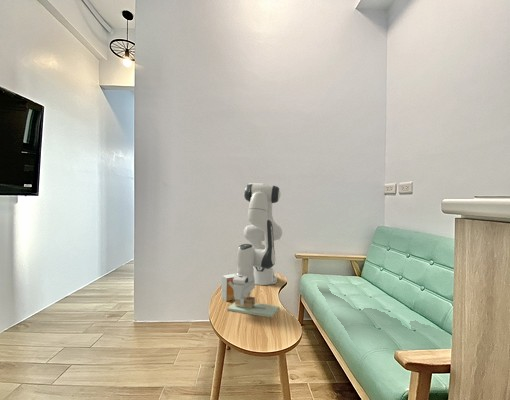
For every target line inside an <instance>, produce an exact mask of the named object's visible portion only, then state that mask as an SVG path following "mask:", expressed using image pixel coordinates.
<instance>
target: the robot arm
mask: <svg viewBox="0 0 510 400" xmlns="http://www.w3.org/2000/svg"><path fill="white" fill-rule="evenodd" d="M243 196H244V200H246V201H247V202H249V203H248V210H247V220H248V222H249V223H250V224H249V225H248V224H247V225H246V226H245V227H244V228H243V236H244V238H245V240H247V241H248V242H249V243H242V244H240V245H239V246H238V248H237V251H236V253H237V254H236V265H237V267H236V273H235V275H236V276H235V277H234V279H233V283H234V298H235V299H238V300H240V304H241V305H244V304H245V301H244V297H245V296H249V297H251V292H252V291H253V290H254V289H255V287H256V285H258V286H268V285H269V286H270V285H275V284H277V281H278V279H279V277H278V275H275V269H274V268H273V266H275V265H276V253H275V241H280V240H281V238H282V236H283V230H282V228H281V226H280V225H279V224H277V223H276V222H275V221H274V218H273V204H276V203H278V202H279V200H280V198H281V190H280V187H278V186H276V185H270V184H253V183H251V184H247V185H246V186H245V187H244V190H243ZM263 241H264V242H265V244H263Z"/></svg>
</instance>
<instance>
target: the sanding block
mask: <svg viewBox="0 0 510 400" xmlns="http://www.w3.org/2000/svg"><path fill="white" fill-rule="evenodd" d="M244 301H245V304H244V305H241V304H240V300H238V299H235V300H234V302H235V306H239V307H246V308H252V307H253V306H254V305H255V303H256V297H255V296H250V297H249V296H245V297H244Z"/></svg>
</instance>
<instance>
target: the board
mask: <svg viewBox="0 0 510 400" xmlns="http://www.w3.org/2000/svg"><path fill="white" fill-rule="evenodd" d="M278 309H280V306H279V305H272V304H265V303H258V302H255V305H254V306H253V307H252V308H246V307H239V306H235V301H234V302H233V303H232V304H231V305H230V306H227V311H229V312H236V313H242V314H245V315H246V314H248V315H252V314H253V316H254V315H255V316H260V317H265V318H274V316H276V314H275V313H277V312H278V311H279V310H278Z"/></svg>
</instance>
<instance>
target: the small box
mask: <svg viewBox="0 0 510 400" xmlns="http://www.w3.org/2000/svg"><path fill="white" fill-rule="evenodd" d="M235 276H236V273H230V274H229V273H228V274H225V275H221V299H222V300H223V301H225V302H230V301H235V298H234V283H233V279H234V277H235Z"/></svg>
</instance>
